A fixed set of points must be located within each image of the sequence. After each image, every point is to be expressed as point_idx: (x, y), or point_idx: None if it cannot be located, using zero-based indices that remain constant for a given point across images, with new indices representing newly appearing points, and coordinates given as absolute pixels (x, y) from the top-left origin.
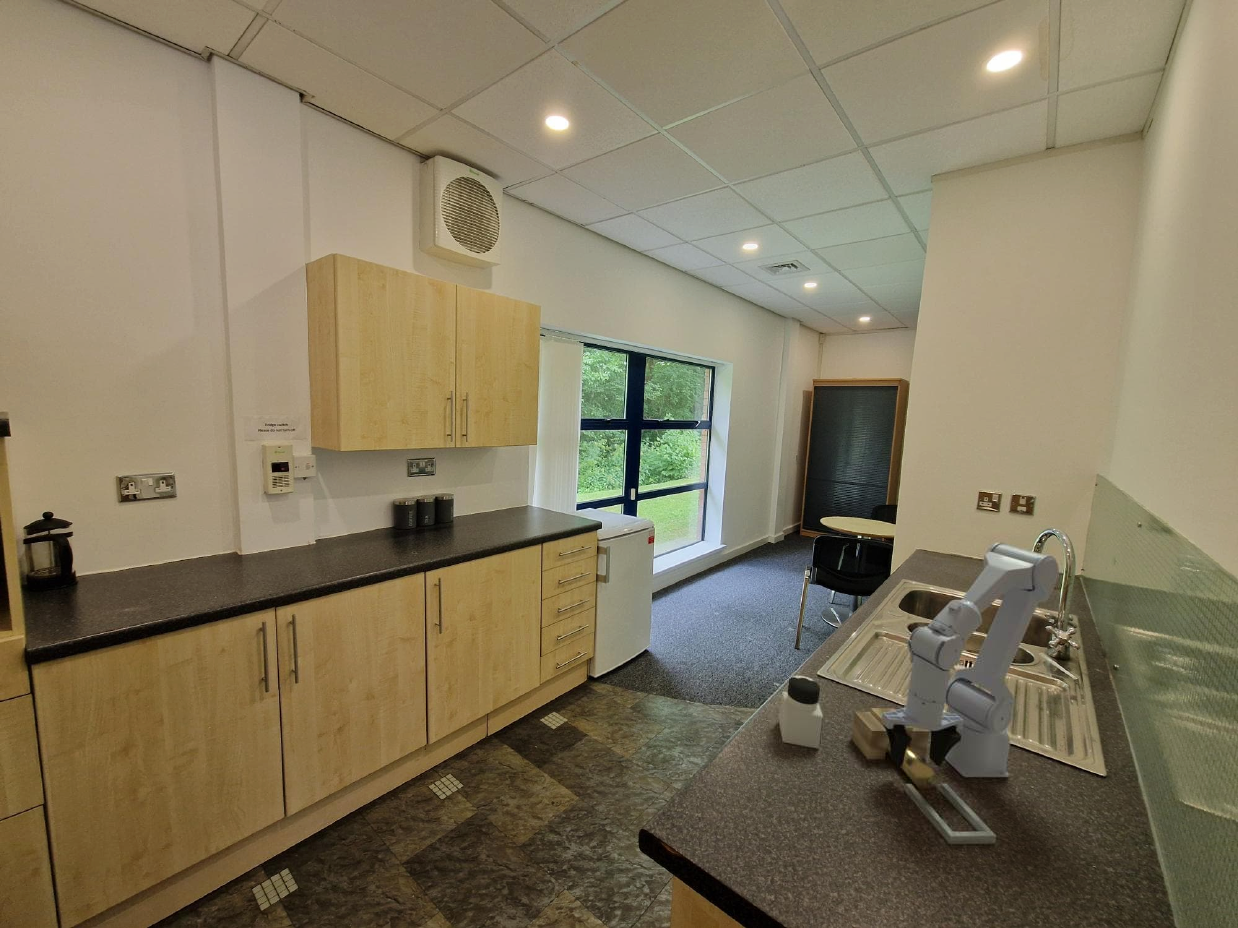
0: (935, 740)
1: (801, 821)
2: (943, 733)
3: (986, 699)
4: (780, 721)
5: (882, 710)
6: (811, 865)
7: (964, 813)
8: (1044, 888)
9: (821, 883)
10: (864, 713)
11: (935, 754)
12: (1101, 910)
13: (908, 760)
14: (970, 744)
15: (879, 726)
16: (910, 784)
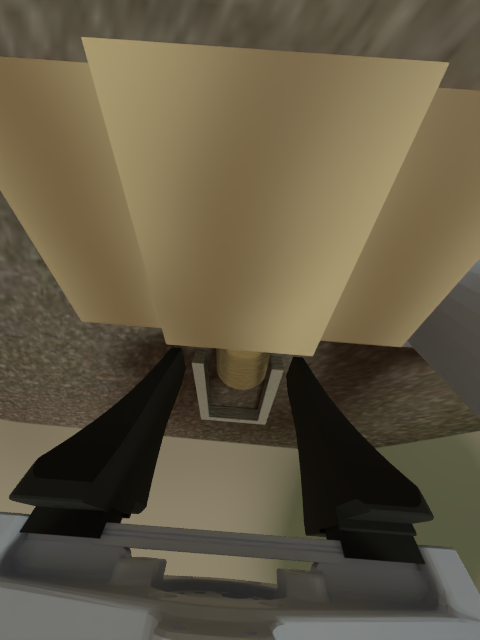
0: (309, 428)
1: (4, 371)
2: (314, 509)
3: None
4: None
5: (226, 127)
6: (30, 403)
7: (262, 394)
8: (265, 435)
9: (43, 413)
10: (39, 111)
11: (294, 390)
12: (295, 446)
13: (221, 353)
14: (467, 405)
15: (135, 297)
16: (201, 364)
